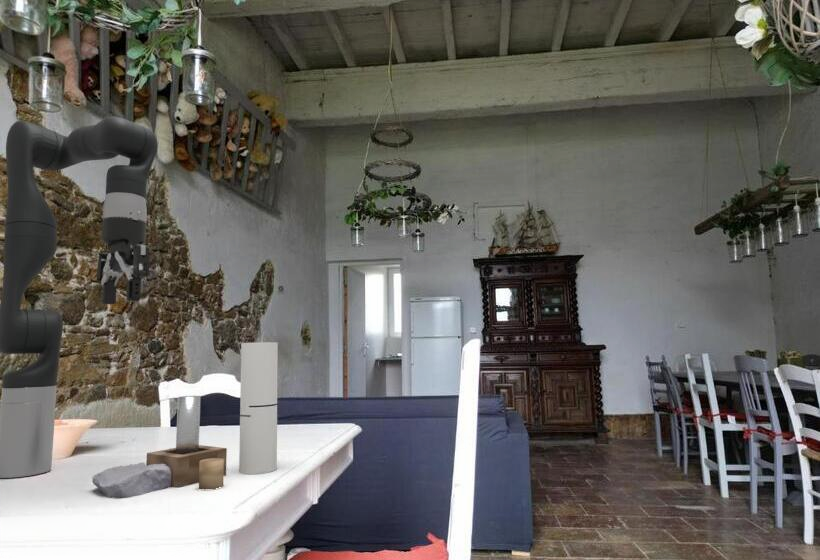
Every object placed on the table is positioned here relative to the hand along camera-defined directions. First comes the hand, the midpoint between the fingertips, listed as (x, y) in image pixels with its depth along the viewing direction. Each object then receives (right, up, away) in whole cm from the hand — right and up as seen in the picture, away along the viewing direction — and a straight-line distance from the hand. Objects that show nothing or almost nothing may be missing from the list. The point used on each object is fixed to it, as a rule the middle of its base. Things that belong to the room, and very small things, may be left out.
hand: (120, 302), depth 101 cm
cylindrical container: (+25, -33, +3) cm, 42 cm away
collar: (+13, -33, -2) cm, 35 cm away
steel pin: (+13, -33, -2) cm, 35 cm away
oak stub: (+21, -32, -9) cm, 39 cm away
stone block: (+6, -33, -9) cm, 34 cm away
